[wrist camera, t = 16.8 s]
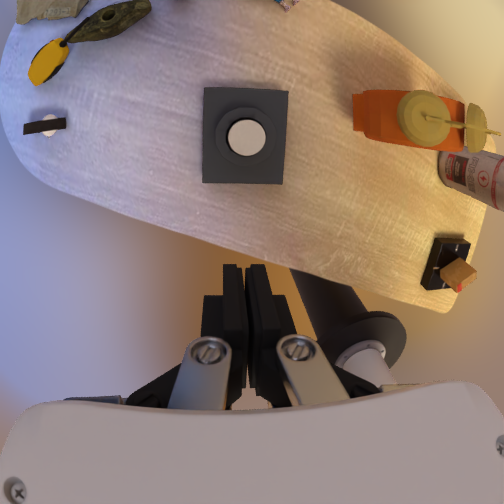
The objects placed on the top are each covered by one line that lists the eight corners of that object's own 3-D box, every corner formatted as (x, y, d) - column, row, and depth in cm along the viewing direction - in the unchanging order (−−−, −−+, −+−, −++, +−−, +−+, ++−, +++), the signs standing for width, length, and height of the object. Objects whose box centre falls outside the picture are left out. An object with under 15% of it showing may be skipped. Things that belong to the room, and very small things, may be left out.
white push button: (262, 154, 32) (264, 156, 30) (227, 153, 32) (227, 155, 30) (264, 120, 30) (266, 120, 29) (228, 119, 30) (229, 119, 28)
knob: (459, 256, 45) (477, 271, 40) (459, 264, 46) (477, 279, 40) (439, 269, 45) (457, 286, 40) (440, 277, 46) (457, 293, 41)
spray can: (447, 131, 36) (540, 158, 18) (471, 155, 38) (555, 189, 20) (429, 174, 39) (520, 218, 22) (455, 194, 42) (536, 240, 24)
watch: (32, 115, 29) (35, 137, 32) (14, 126, 26) (18, 149, 28) (71, 109, 30) (73, 132, 33) (54, 119, 27) (57, 144, 29)
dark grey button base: (278, 179, 38) (285, 188, 34) (203, 178, 37) (201, 187, 33) (283, 93, 33) (292, 89, 29) (205, 89, 32) (203, 85, 28)
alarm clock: (343, 134, 36) (436, 158, 18) (341, 91, 33) (436, 84, 15) (417, 138, 37) (515, 169, 19) (417, 101, 34) (518, 113, 16)
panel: (450, 281, 50) (457, 287, 48) (418, 284, 49) (425, 291, 47) (464, 238, 46) (472, 244, 44) (433, 237, 45) (441, 243, 43)
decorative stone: (143, -8, 24) (136, -19, 20) (157, 13, 26) (150, 3, 22) (73, 42, 25) (59, 36, 22) (84, 63, 28) (71, 59, 24)
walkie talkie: (45, 86, 28) (104, 28, 22) (37, 92, 27) (94, 32, 21) (32, 65, 25) (87, 2, 18) (23, 71, 24) (76, 5, 17)
